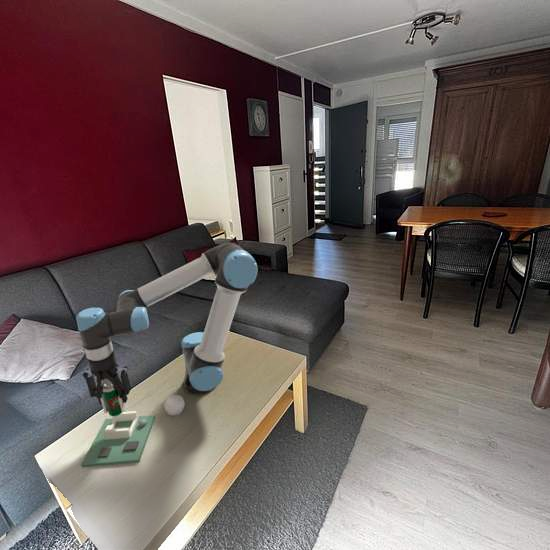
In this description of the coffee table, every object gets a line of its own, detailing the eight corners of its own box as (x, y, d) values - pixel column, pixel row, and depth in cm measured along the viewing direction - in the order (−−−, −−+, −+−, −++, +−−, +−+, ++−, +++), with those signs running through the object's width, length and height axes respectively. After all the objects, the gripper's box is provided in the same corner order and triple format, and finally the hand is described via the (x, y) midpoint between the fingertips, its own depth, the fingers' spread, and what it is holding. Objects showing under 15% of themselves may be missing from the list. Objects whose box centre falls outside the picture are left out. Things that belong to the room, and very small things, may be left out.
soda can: (112, 406, 108) (105, 379, 104) (127, 405, 109) (120, 378, 104) (106, 417, 104) (98, 390, 99) (121, 416, 104) (114, 389, 100)
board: (155, 417, 115) (153, 408, 113) (139, 462, 98) (136, 452, 96) (106, 421, 114) (103, 411, 112) (81, 467, 97) (77, 457, 95)
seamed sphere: (188, 405, 120) (185, 390, 117) (181, 420, 113) (179, 405, 110) (163, 404, 121) (160, 389, 118) (156, 419, 114) (152, 404, 111)
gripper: (133, 345, 101) (146, 399, 109) (77, 348, 100) (94, 403, 108) (125, 359, 94) (138, 416, 103) (64, 363, 93) (83, 420, 101)
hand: (116, 409), depth 105 cm, fingers closed on soda can, 5 cm apart
